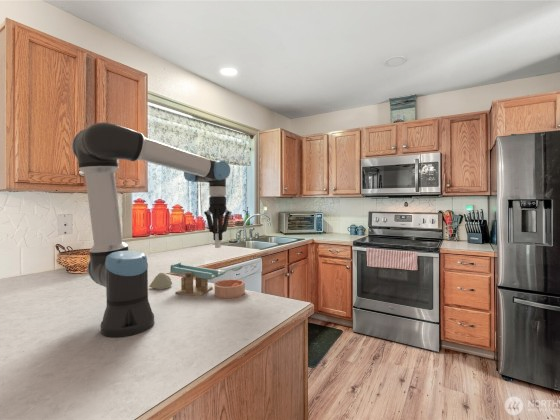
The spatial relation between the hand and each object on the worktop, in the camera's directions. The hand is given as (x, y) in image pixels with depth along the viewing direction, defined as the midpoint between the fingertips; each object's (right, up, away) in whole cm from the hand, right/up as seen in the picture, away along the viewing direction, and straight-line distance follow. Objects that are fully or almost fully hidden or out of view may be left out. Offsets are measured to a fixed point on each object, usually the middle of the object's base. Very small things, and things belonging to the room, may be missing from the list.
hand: (217, 247), depth 134 cm
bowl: (+7, -19, -8) cm, 22 cm away
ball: (+8, -17, -9) cm, 21 cm away
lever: (-9, -11, -1) cm, 14 cm away
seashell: (-27, -19, +4) cm, 34 cm away
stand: (-10, -19, -4) cm, 22 cm away
